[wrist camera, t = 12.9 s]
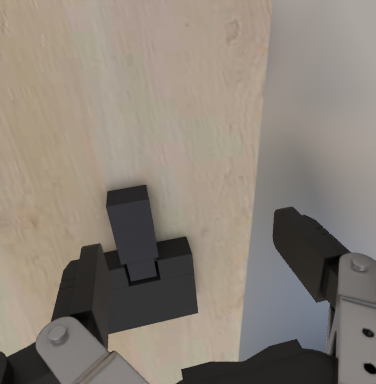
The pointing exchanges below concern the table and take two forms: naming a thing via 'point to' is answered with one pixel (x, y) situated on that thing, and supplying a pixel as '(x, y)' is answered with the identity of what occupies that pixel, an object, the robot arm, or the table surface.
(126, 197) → the pad
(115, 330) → the base pad
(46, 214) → the table surface
